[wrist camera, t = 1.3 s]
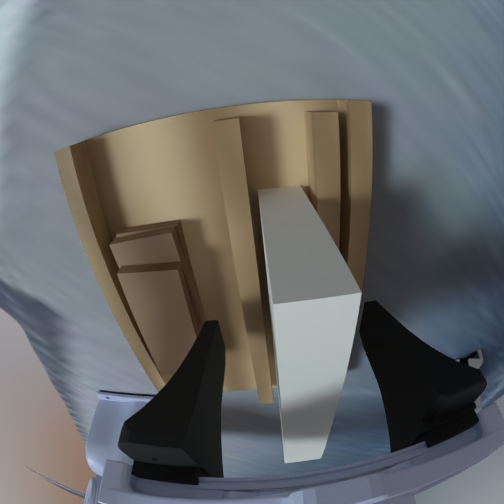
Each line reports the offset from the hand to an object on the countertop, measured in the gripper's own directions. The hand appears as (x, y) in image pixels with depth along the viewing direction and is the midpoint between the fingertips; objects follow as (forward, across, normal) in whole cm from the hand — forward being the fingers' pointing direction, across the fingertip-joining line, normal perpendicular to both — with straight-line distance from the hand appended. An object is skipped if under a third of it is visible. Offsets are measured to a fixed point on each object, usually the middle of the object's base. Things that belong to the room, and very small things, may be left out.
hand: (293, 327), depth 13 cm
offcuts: (+3, +7, 0) cm, 7 cm away
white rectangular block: (+3, 0, 0) cm, 3 cm away
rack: (+4, +3, 0) cm, 5 cm away
